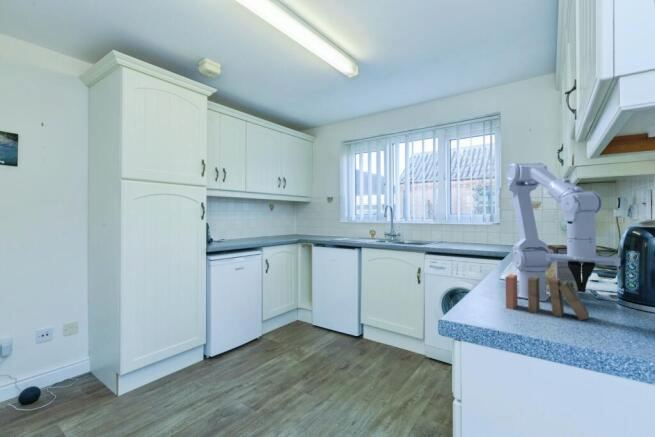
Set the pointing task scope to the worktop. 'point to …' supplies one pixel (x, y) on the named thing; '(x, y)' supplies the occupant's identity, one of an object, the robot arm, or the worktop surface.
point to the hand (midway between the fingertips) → (581, 291)
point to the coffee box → (560, 269)
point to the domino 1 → (511, 291)
